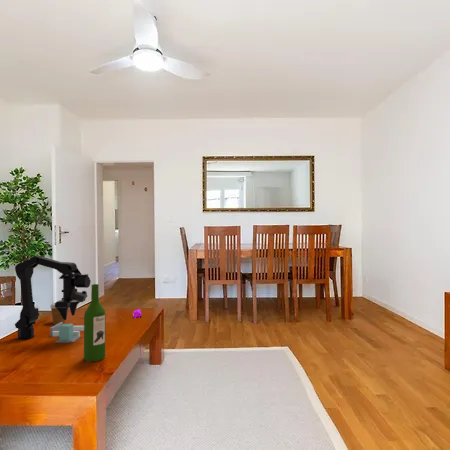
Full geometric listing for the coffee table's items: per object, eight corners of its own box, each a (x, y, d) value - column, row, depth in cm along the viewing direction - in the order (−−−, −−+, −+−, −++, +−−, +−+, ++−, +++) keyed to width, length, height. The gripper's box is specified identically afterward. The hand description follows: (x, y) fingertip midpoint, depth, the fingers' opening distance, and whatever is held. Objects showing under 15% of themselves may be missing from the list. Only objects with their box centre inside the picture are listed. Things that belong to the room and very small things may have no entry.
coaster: (55, 342, 172) (55, 341, 172) (63, 337, 181) (63, 335, 181) (73, 342, 172) (73, 341, 172) (80, 337, 181) (80, 335, 181)
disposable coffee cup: (46, 324, 205) (46, 304, 205) (59, 320, 214) (59, 301, 214) (58, 326, 201) (58, 305, 202) (71, 322, 210) (71, 302, 210)
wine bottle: (92, 363, 145) (92, 287, 146) (79, 359, 150) (79, 285, 151) (109, 356, 153) (110, 284, 153) (96, 353, 158) (97, 282, 158)
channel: (50, 336, 182) (50, 328, 182) (60, 330, 193) (60, 322, 193) (78, 336, 182) (78, 328, 182) (87, 330, 193) (87, 322, 193)
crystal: (132, 316, 224) (132, 309, 224) (141, 315, 226) (141, 308, 226) (133, 318, 219) (133, 311, 219) (142, 317, 221) (142, 310, 221)
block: (59, 340, 174) (59, 326, 174) (63, 337, 179) (63, 323, 179) (68, 340, 174) (68, 326, 174) (73, 337, 179) (73, 323, 179)
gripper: (77, 290, 168) (77, 322, 167) (91, 284, 186) (91, 313, 186) (54, 290, 168) (54, 322, 167) (71, 284, 186) (71, 313, 186)
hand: (69, 317), depth 177 cm, fingers open, 9 cm apart
